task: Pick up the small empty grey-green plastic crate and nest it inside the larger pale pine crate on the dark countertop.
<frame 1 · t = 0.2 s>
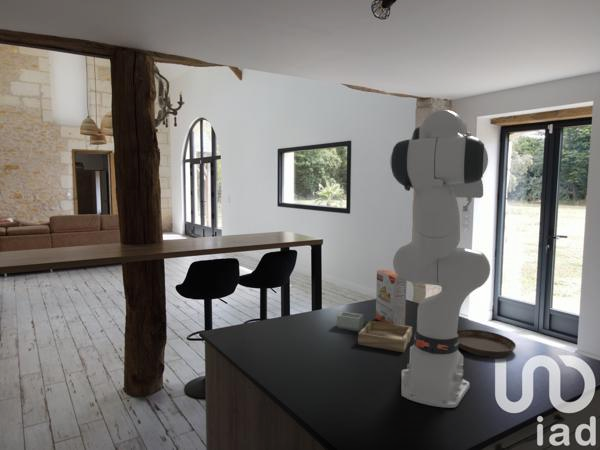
hand: (450, 210, 145), 48 cm above the kitchen island, fingers open, 8 cm apart
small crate: (350, 327, 166), on the kitchen island
big crate: (385, 340, 152), on the kitchen island
plant saucer: (482, 348, 147), on the kitchen island
cracker box: (389, 323, 171), on the kitchen island
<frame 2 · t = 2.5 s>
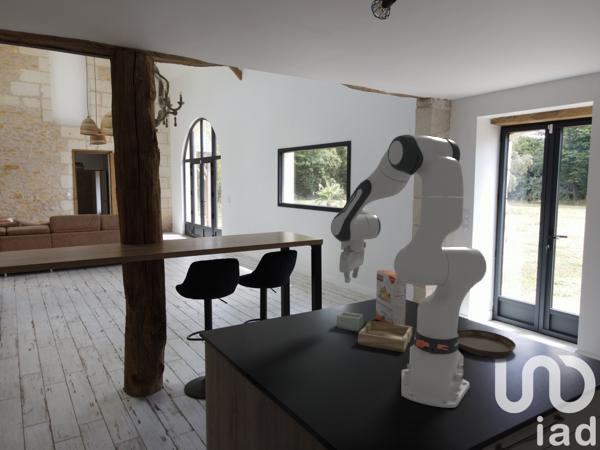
hand: (351, 280, 164), 19 cm above the kitchen island, fingers open, 8 cm apart
nothing on the kitchen island moved.
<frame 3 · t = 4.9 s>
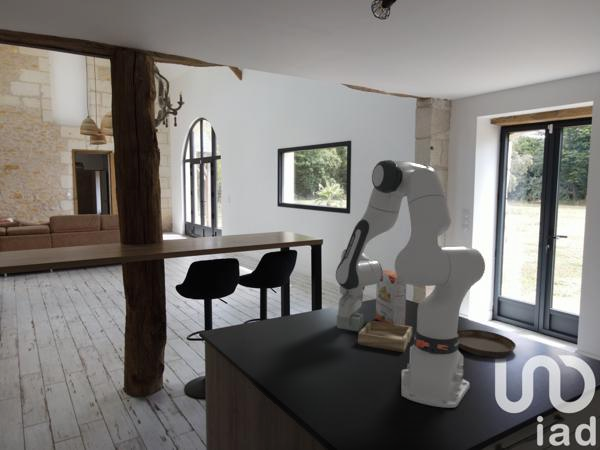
hand: (350, 323, 166), 2 cm above the kitchen island, fingers closed on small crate, 6 cm apart
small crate: (350, 327, 166), on the kitchen island, touching gripper
everything else where it was.
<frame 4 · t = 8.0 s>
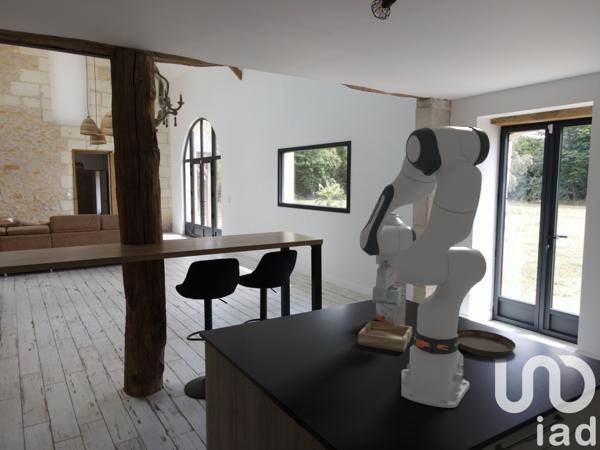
hand: (387, 296, 151), 16 cm above the kitchen island, fingers closed on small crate, 6 cm apart
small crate: (386, 301, 151), point 14 cm above the kitchen island, touching gripper
everything else where it was.
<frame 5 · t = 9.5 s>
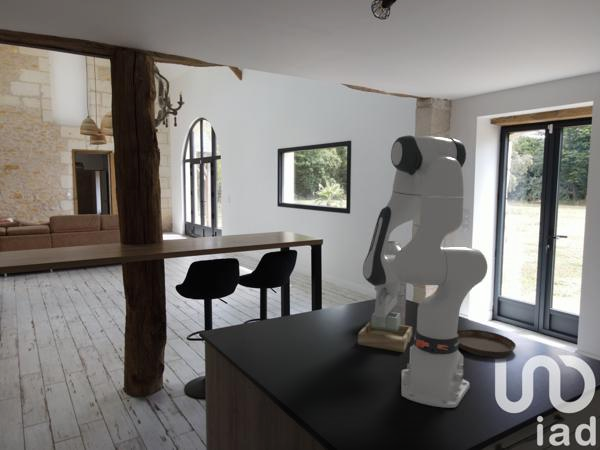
hand: (385, 323, 152), 6 cm above the kitchen island, fingers closed on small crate, 6 cm apart
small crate: (385, 327, 152), point 5 cm above the kitchen island, touching gripper
everything else where it was.
when the fingers open (4 cm above the kitchen island, at t = 10.9 s): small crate drops 2 cm, resting on big crate.
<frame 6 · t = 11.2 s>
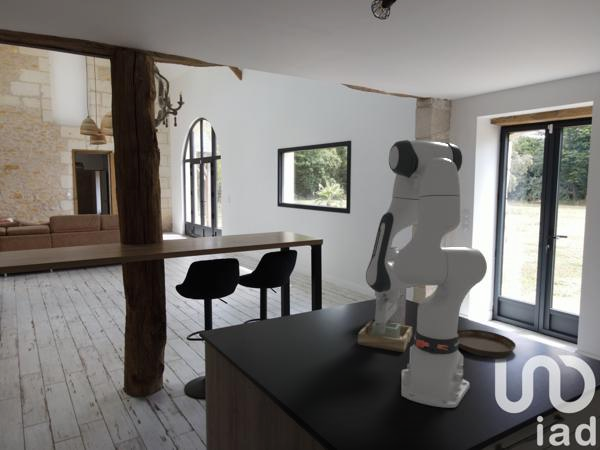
hand: (386, 329, 152), 4 cm above the kitchen island, fingers open, 8 cm apart
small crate: (385, 338, 152), point 1 cm above the kitchen island, touching big crate
everything else where it was.
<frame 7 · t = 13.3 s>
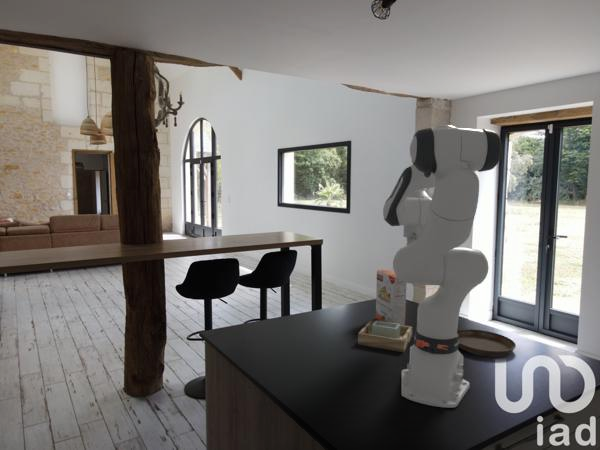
hand: (414, 269, 153), 25 cm above the kitchen island, fingers open, 8 cm apart
nothing on the kitchen island moved.
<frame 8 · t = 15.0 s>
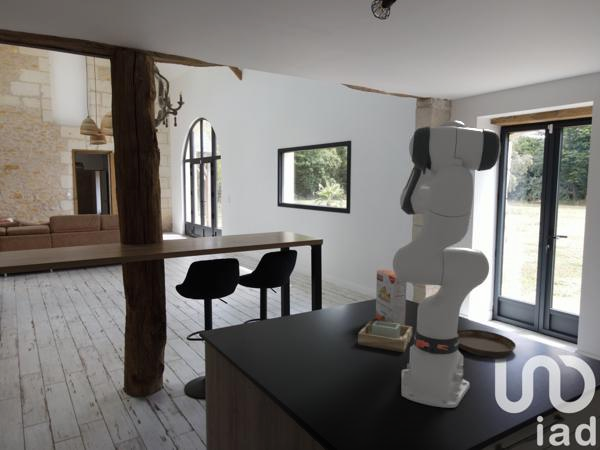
hand: (433, 259, 155), 29 cm above the kitchen island, fingers open, 8 cm apart
nothing on the kitchen island moved.
at the end: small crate inside the target area on the big crate (0.0 cm from its centre), point 1.0 cm above the big crate's base; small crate tilted 0°; the gripper is holding nothing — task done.
